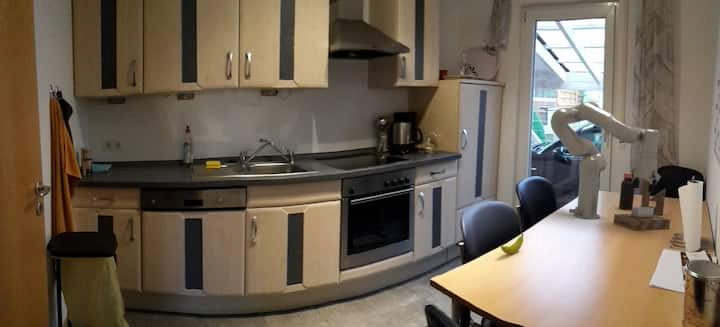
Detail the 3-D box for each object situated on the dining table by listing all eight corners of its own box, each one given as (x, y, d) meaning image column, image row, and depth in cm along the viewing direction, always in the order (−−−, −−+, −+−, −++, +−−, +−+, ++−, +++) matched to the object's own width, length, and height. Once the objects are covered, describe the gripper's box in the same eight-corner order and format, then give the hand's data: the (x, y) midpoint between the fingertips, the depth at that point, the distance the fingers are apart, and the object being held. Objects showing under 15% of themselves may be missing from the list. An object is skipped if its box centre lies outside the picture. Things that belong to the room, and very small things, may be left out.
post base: (634, 230, 251) (635, 221, 250) (613, 223, 264) (614, 214, 264) (669, 228, 256) (670, 219, 255) (646, 221, 269) (647, 212, 269)
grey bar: (636, 225, 257) (638, 209, 256) (630, 223, 261) (632, 207, 260) (652, 224, 259) (653, 208, 258) (645, 222, 263) (647, 206, 262)
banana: (496, 258, 204) (497, 242, 203) (518, 248, 218) (519, 233, 217) (503, 260, 202) (504, 243, 201) (525, 249, 216) (526, 234, 215)
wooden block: (662, 215, 284) (665, 182, 281) (639, 212, 290) (642, 180, 287) (662, 214, 287) (666, 181, 284) (640, 211, 293) (643, 179, 290)
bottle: (634, 210, 294) (637, 174, 291) (620, 209, 296) (624, 174, 293) (630, 208, 301) (633, 173, 298) (617, 207, 302) (620, 172, 299)
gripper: (628, 152, 263) (623, 186, 265) (655, 157, 246) (650, 194, 249) (640, 152, 265) (636, 186, 267) (668, 157, 248) (663, 193, 251)
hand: (643, 189), depth 258 cm, fingers open, 9 cm apart
